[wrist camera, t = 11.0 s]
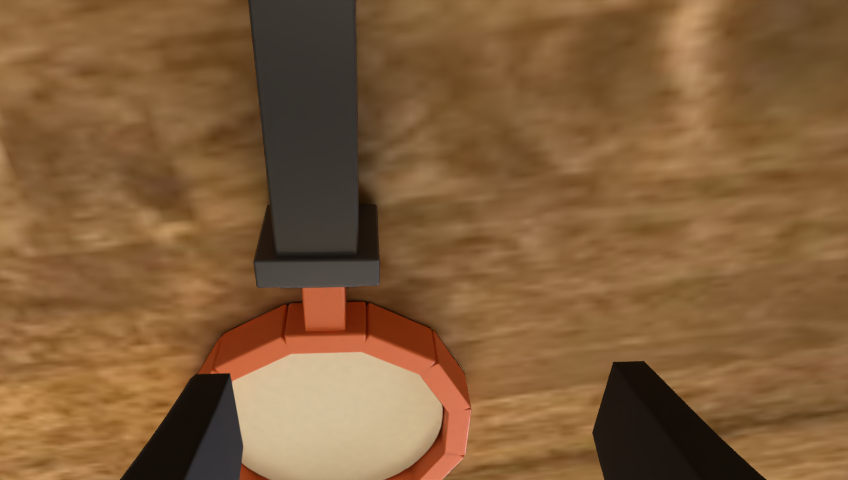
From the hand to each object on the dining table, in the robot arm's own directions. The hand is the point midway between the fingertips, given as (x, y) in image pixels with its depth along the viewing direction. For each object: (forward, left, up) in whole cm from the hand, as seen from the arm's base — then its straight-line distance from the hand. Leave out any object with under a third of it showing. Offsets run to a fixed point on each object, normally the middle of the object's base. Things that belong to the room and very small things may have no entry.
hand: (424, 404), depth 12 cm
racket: (-3, -4, -10) cm, 11 cm away
